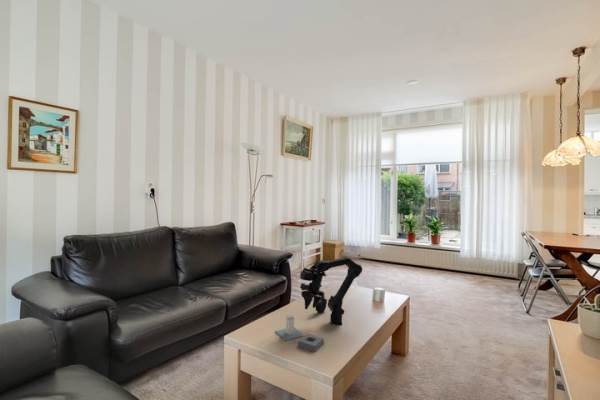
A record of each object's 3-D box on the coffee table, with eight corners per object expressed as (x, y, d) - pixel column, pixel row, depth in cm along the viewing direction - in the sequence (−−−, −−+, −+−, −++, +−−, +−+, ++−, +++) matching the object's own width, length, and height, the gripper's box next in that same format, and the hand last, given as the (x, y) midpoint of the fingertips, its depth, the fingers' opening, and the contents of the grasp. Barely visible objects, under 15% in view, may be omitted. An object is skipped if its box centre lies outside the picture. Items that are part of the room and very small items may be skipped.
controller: (327, 311, 202) (328, 296, 202) (317, 316, 192) (317, 301, 192) (322, 309, 204) (322, 294, 204) (311, 314, 195) (312, 299, 194)
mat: (293, 327, 174) (293, 326, 174) (304, 336, 164) (304, 335, 164) (275, 332, 168) (275, 331, 168) (285, 341, 158) (285, 340, 158)
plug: (290, 331, 168) (291, 315, 168) (293, 333, 166) (293, 317, 166) (286, 332, 167) (286, 316, 167) (288, 334, 164) (289, 318, 164)
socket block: (307, 338, 161) (307, 333, 161) (323, 343, 156) (323, 338, 156) (297, 346, 153) (297, 340, 153) (314, 352, 148) (315, 346, 148)
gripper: (312, 277, 190) (306, 302, 188) (297, 278, 174) (290, 304, 173) (327, 283, 183) (321, 308, 182) (313, 284, 168) (306, 312, 167)
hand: (309, 308), depth 176 cm, fingers open, 9 cm apart
